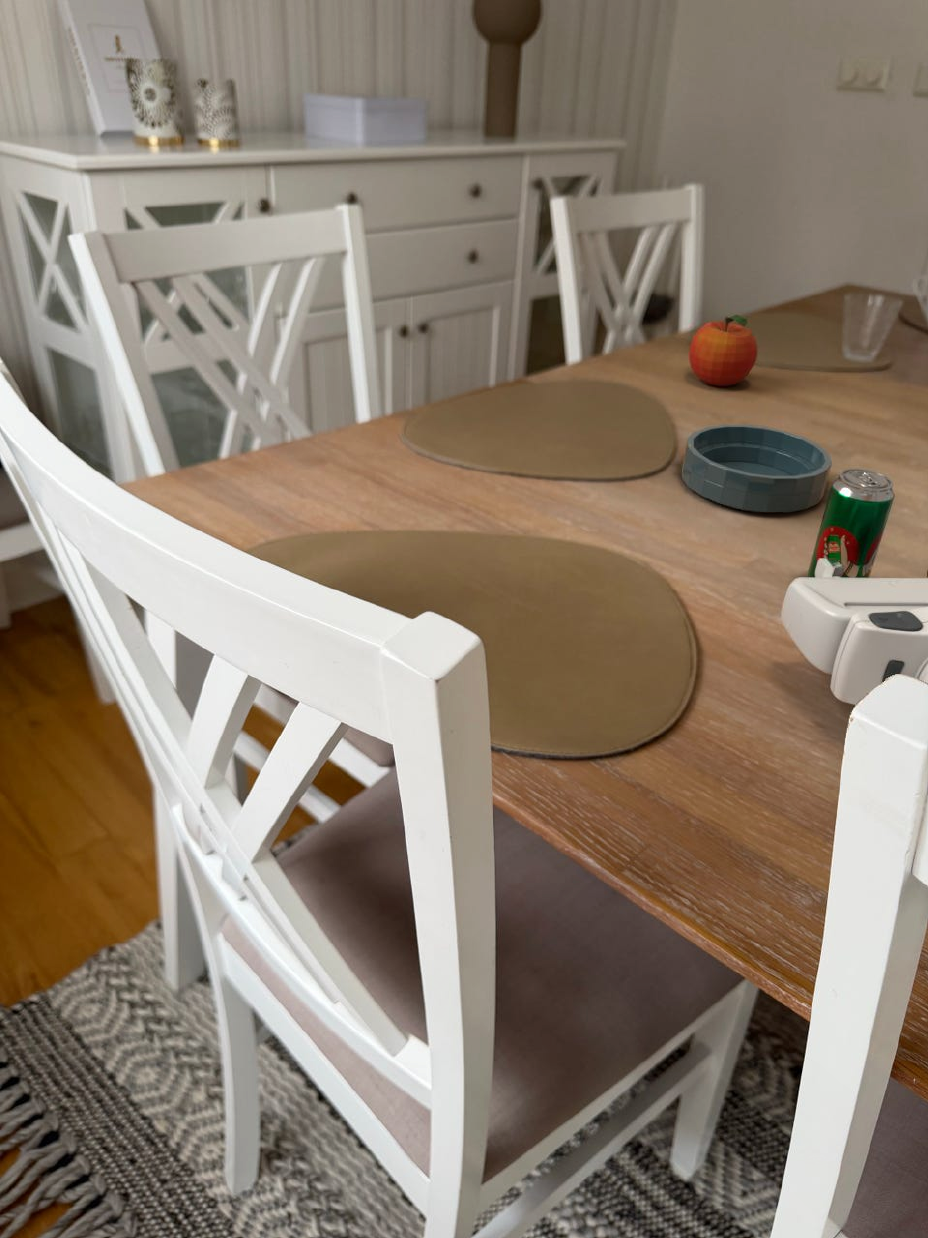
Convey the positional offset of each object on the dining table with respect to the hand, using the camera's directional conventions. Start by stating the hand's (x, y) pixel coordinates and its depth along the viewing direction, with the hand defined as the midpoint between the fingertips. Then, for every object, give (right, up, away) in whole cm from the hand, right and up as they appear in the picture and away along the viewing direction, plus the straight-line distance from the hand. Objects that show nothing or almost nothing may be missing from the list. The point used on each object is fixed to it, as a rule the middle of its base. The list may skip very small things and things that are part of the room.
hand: (881, 566), depth 77 cm
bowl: (-2, +11, +30) cm, 31 cm away
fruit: (+3, +30, +62) cm, 69 cm away
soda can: (-1, -3, +9) cm, 9 cm away
